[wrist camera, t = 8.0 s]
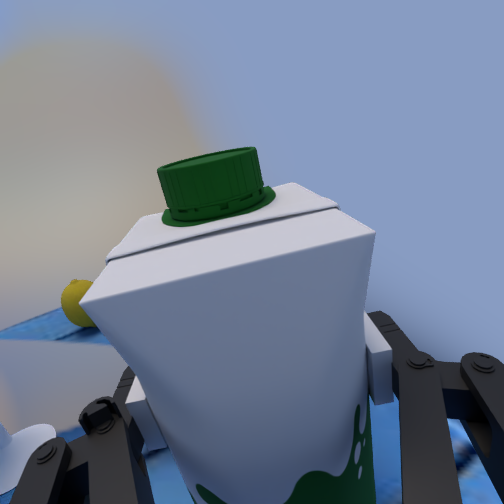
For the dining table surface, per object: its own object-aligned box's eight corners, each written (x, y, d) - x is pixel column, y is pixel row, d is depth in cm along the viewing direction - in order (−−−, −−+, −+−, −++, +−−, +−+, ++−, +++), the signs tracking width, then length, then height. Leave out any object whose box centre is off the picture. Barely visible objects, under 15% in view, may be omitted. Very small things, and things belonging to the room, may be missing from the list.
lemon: (121, 313, 48) (101, 268, 45) (101, 337, 43) (76, 288, 40) (91, 316, 49) (69, 273, 46) (67, 340, 44) (41, 292, 41)
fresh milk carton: (335, 423, 22) (297, 133, 15) (413, 599, 14) (421, 135, 6) (217, 456, 22) (113, 173, 14) (224, 658, 13) (-23, 235, 6)
